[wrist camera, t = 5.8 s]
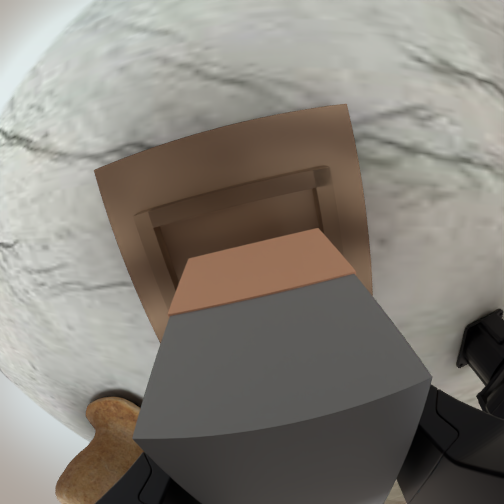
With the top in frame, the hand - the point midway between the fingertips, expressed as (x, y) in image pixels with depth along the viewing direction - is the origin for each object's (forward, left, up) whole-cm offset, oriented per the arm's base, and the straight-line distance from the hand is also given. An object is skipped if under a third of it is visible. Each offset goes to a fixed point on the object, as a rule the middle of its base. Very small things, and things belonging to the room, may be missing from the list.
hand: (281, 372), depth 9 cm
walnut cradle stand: (0, +1, -13) cm, 13 cm away
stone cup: (-20, +19, -13) cm, 30 cm away
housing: (0, 0, -3) cm, 2 cm away
